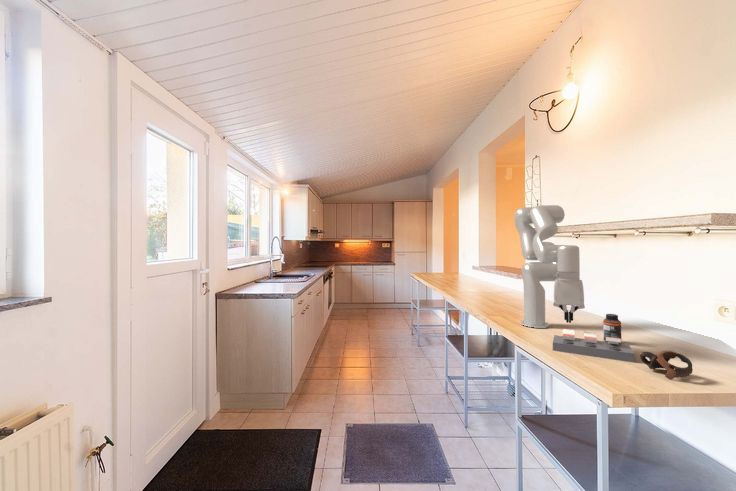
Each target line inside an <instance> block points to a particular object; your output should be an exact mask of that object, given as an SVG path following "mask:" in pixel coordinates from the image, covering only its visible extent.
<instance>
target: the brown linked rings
mask: <svg viewBox="0 0 736 491" xmlns="http://www.w3.org/2000/svg"><path fill="white" fill-rule="evenodd" d="M676 358H679V359H680V361H681V362H682V363H685V364H687V366H685V367H680V366H676V365H674V364H671V363H670V362H669V361H671V360H672V359H676ZM639 359H640V361H641V362H642V363H643V364H644V365H646V366H647V367H648V368H649V369H650V370H652V371H654V370H656V369H665V370H666V373H665V374H664V377H665V378H666V379H668V380H671V381H673V380H674V379H675V378H677V379H678V378H685V377H690V376H691V375H692V373H693V371H694V370H693V363H692V361H691V360H690V359H689V357H687V356H685V355H683V354H681V353H678V352H677V351H674V350H673V351H672V350H663V351H661V352H660V353H656V354H655V353H652V352H651V351H642V352H641V353H640V354H639ZM648 359H649V360H648Z"/></svg>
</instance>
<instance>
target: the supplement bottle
mask: <svg viewBox="0 0 736 491" xmlns="http://www.w3.org/2000/svg"><path fill="white" fill-rule="evenodd" d="M602 323H603V325H602V326H603V329H602V331H603V341H605V342H608V341H606V337H612V338H620V339H621V342H620V344H622V342H623V341H622V340H623V338H622V322H621V320H619V315H618V314H616V313H615V314H614V313H606V314H605V318H604V319H603V322H602Z"/></svg>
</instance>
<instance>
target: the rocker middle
mask: <svg viewBox="0 0 736 491" xmlns="http://www.w3.org/2000/svg"><path fill="white" fill-rule="evenodd" d="M597 337H598V336H597V332H593V331H583V339H584V342H592V343H597V341H598V338H597Z"/></svg>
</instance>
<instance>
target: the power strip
mask: <svg viewBox="0 0 736 491" xmlns="http://www.w3.org/2000/svg"><path fill="white" fill-rule="evenodd" d="M552 351H555V352H562V353H569V354H576V355H582V356H589V357H595V358H601V359H602V358H603V359H609V360H614V361H615V360H616V361H622V362H623V361H624V362H629V363H635V353H634V351H633V348H632V347H631V345H630V344H627V343H619V345H618V344H610V343H608V342H605V341H604V340H603V341H602V340H597V343H592V342H584V338H581V337H575V340H569V339H562V335H556V334H554V335H553V340H552Z"/></svg>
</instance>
